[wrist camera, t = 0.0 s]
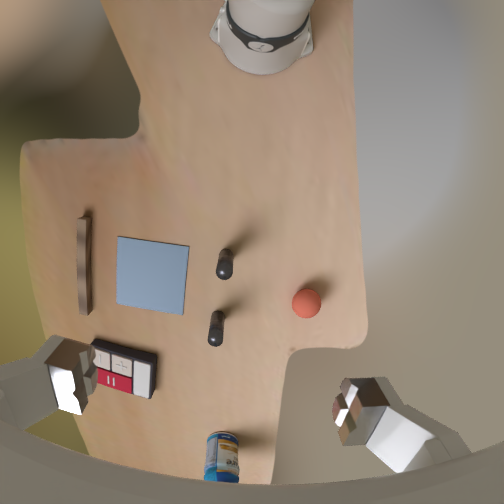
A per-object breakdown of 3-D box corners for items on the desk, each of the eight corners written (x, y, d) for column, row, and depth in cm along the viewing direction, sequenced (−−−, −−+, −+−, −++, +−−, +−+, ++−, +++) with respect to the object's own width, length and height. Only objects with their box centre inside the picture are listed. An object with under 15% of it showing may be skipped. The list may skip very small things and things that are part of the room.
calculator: (88, 345, 59) (152, 365, 59) (96, 336, 63) (157, 354, 64) (90, 382, 61) (150, 401, 62) (97, 372, 66) (154, 390, 66)
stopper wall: (83, 216, 55) (77, 218, 52) (91, 217, 55) (86, 219, 52) (84, 308, 60) (79, 313, 57) (92, 310, 60) (87, 315, 58)
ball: (293, 283, 60) (298, 294, 55) (320, 286, 60) (327, 297, 55) (287, 308, 61) (291, 321, 56) (313, 311, 62) (320, 324, 57)
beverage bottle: (202, 432, 70) (196, 494, 51) (234, 428, 70) (235, 491, 51) (211, 450, 73) (208, 509, 53) (242, 447, 73) (243, 507, 53)
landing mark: (118, 236, 56) (117, 236, 56) (189, 246, 57) (188, 247, 57) (117, 303, 60) (116, 303, 59) (182, 314, 61) (182, 315, 61)
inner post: (220, 247, 58) (217, 263, 49) (234, 250, 58) (233, 265, 49) (218, 261, 58) (215, 278, 50) (232, 263, 58) (231, 280, 50)
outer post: (212, 309, 61) (208, 332, 52) (225, 311, 61) (223, 334, 52) (210, 321, 61) (207, 345, 53) (223, 323, 62) (221, 347, 53)
